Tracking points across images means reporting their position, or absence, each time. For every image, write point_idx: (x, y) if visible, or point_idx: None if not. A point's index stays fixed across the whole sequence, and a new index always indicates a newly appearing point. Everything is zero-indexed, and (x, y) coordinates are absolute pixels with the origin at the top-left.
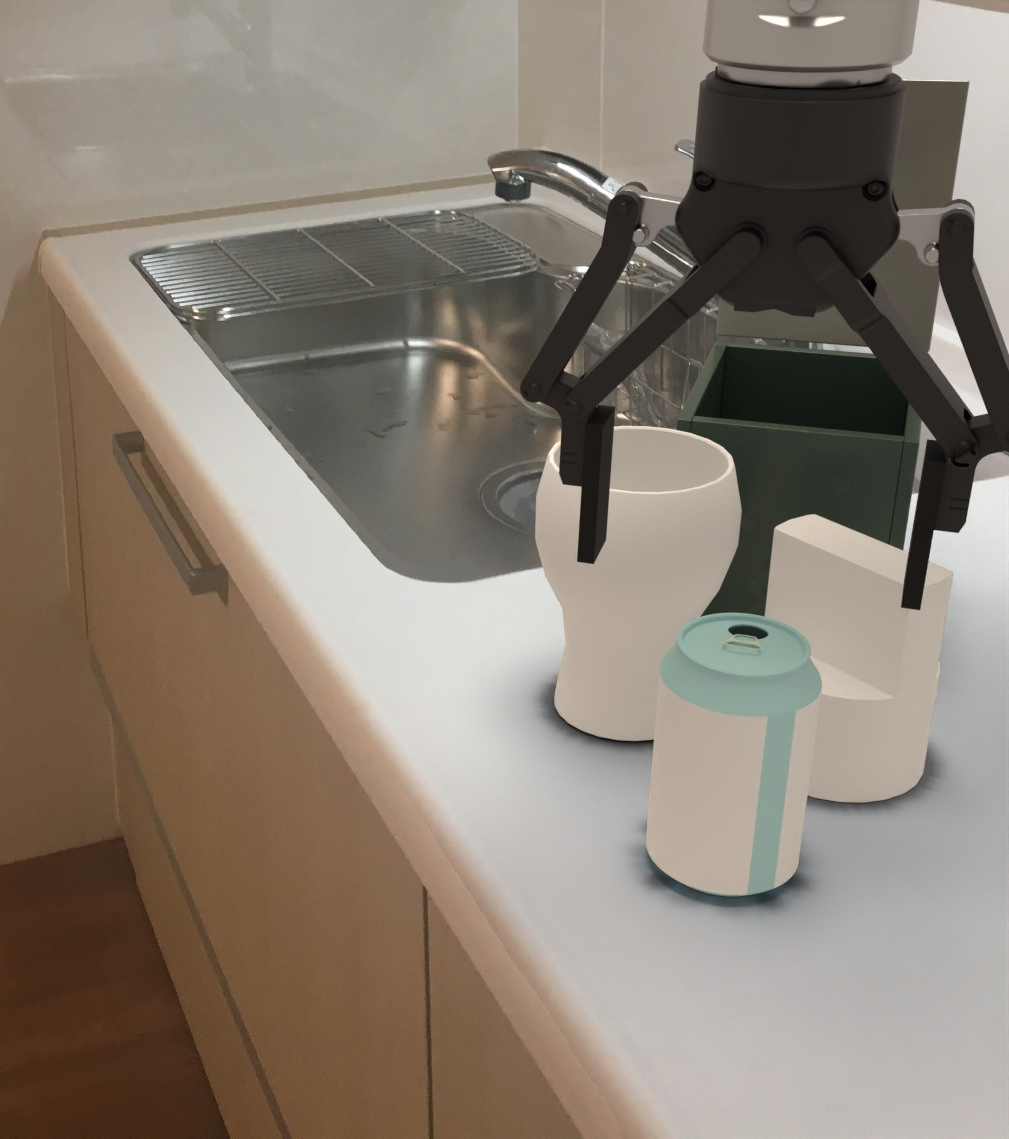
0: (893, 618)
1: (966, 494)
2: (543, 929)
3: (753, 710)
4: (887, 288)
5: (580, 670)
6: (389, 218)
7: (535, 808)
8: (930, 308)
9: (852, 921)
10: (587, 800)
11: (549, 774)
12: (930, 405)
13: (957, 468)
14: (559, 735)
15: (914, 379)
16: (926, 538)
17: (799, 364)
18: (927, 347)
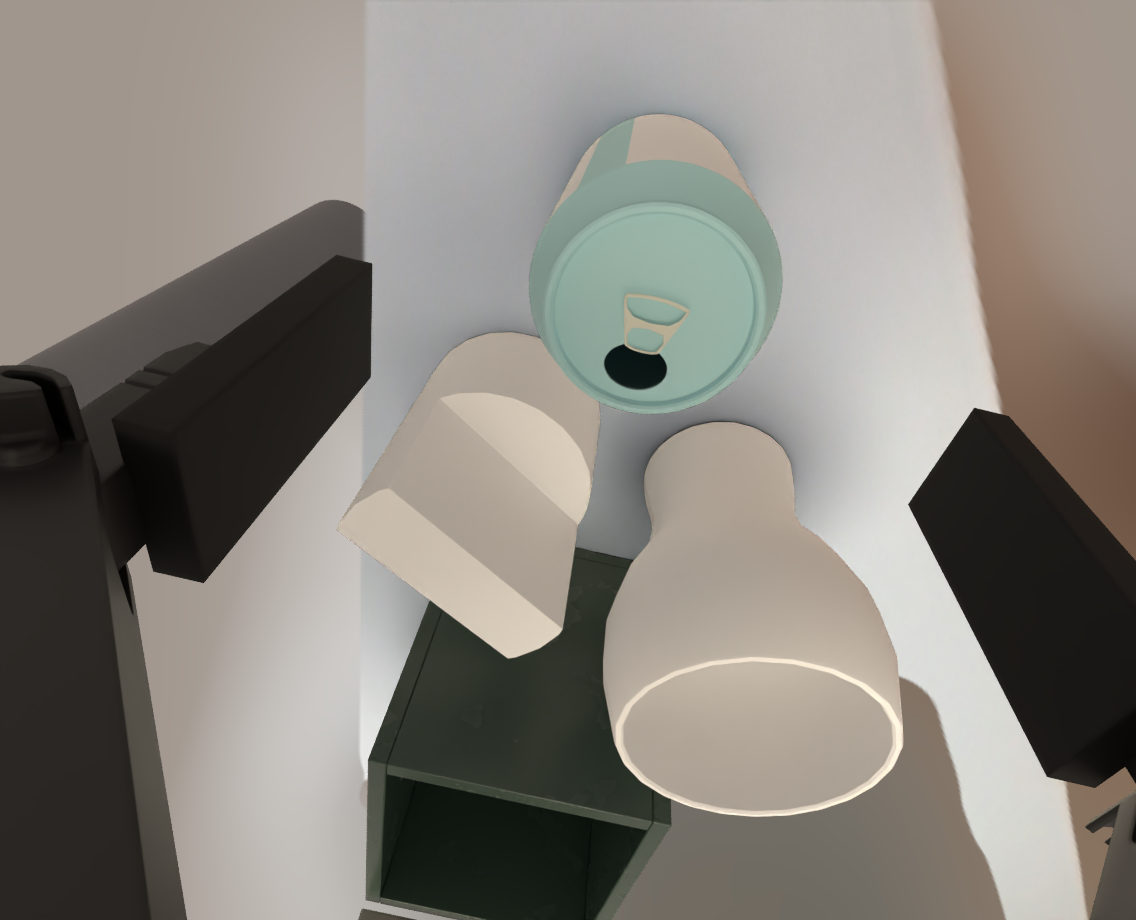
0: (423, 468)
1: (123, 390)
2: (902, 25)
3: (650, 165)
4: None
5: (783, 490)
6: None
7: (854, 292)
8: None
9: (516, 103)
10: (787, 313)
11: (822, 359)
12: (28, 586)
13: (52, 374)
14: (796, 430)
15: (14, 698)
16: (266, 319)
17: (503, 905)
18: (362, 914)
